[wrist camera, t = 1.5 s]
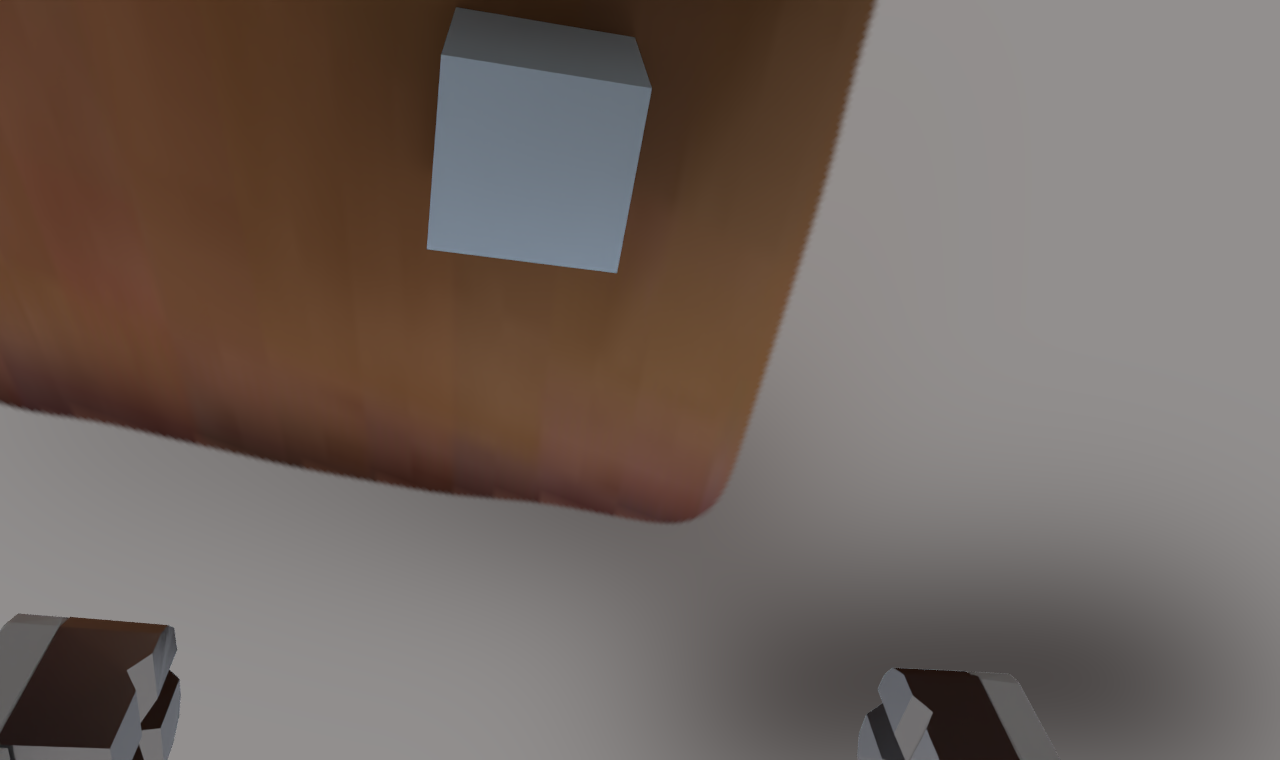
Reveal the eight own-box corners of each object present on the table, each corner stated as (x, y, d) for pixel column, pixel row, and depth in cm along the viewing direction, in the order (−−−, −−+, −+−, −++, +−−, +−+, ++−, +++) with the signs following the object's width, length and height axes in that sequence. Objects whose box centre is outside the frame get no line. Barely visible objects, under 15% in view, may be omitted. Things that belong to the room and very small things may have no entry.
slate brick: (455, 6, 27) (441, 54, 23) (634, 36, 28) (652, 88, 23) (442, 177, 29) (426, 249, 25) (605, 200, 30) (616, 273, 26)
